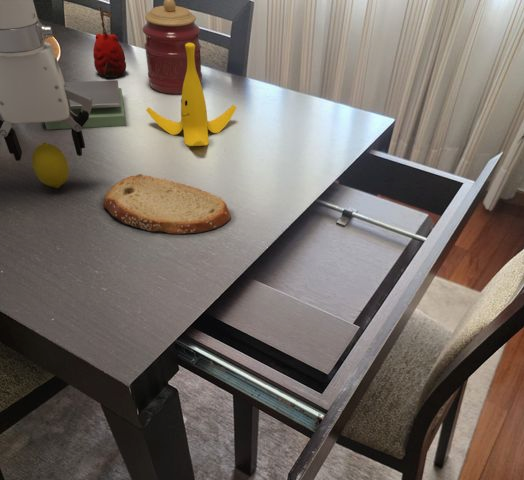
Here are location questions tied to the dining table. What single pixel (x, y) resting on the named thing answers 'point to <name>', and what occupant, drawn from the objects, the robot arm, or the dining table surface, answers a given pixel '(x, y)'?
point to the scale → (96, 117)
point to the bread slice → (165, 206)
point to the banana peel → (193, 109)
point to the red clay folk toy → (108, 53)
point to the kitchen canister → (170, 46)
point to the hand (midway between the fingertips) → (49, 154)
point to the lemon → (50, 165)
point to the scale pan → (97, 93)
